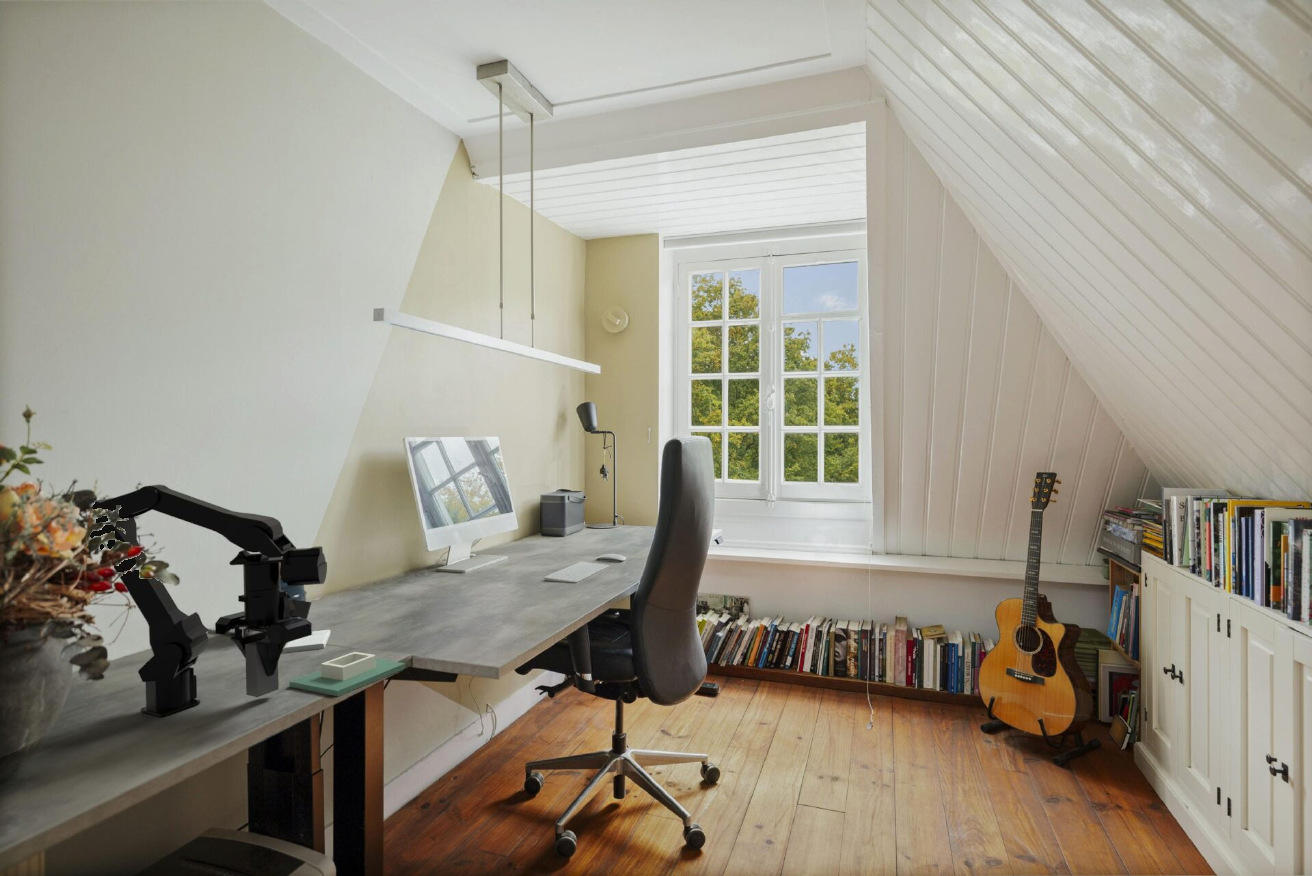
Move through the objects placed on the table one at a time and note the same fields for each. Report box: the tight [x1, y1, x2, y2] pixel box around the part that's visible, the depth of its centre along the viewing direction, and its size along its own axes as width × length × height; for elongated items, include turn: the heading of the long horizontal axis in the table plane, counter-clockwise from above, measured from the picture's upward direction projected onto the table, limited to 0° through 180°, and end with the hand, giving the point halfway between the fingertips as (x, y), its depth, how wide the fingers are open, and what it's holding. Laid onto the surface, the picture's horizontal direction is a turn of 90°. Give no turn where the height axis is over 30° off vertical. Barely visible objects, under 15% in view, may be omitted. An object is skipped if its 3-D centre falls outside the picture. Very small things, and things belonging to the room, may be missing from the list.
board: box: [289, 651, 406, 697], centre depth 132 cm, size 16×13×4 cm
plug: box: [245, 639, 280, 698], centre depth 122 cm, size 5×3×9 cm, turn 155°
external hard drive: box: [282, 629, 331, 654], centre depth 156 cm, size 2×8×12 cm
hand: (264, 674), depth 122 cm, fingers closed on plug, 3 cm apart
